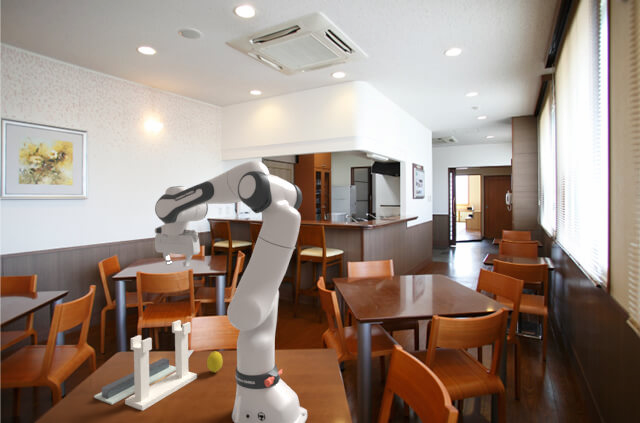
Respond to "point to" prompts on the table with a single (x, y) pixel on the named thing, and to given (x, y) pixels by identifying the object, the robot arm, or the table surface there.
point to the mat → (132, 389)
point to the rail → (132, 379)
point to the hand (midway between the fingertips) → (177, 265)
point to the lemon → (214, 361)
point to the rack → (168, 385)
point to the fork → (190, 352)
